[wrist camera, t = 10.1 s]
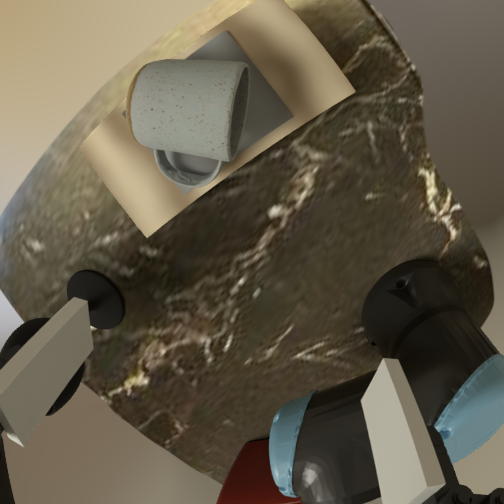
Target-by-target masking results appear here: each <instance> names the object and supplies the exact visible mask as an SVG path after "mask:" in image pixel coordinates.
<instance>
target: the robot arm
mask: <svg viewBox="0 0 504 504" xmlns="http://www.w3.org/2000/svg"><path fill="white" fill-rule="evenodd" d="M362 324H363V328H364V331H365V334H366V336H367V339H368V341H369V342H370V344H371V345H372V347H373V348H374V349H375V350H376V351H377V352H379V353H380V354H381V355H382V356H383V357H384V358H383V360H382V362H381V364H380V366H379V368H378V369H376V370H374V371H372V372H369V373H367V374H364V375H362V376H359V377H357V378H354V379H351V380H349V381H346V382H343V383H341V384H338V385H335V386H332V387H329V388H327V389H324V390H321V391H316V390H315V391H312V392H311V393H310V394H309V395H306V396H303V397H301V398H298V399H295V400H292V401H290V402H287V403H286V404H284V405H283V406H282V407H281V408H280V409H279V410H278V412H277V413H276V415H275V417H274V419H273V423H272V427H271V431H270V439H269V457H270V465H271V471H272V475H273V478H274V481H275V483H276V485H277V486H279V491H280V492H281V493H282V494H283V495H285V496H290V497H299V496H300V498H301V502H302V504H504V488H497V489H495V490H494V491H492V492H491V493H490V494H489V495H481V494H473V492H472V491H471V489H469V488H468V487H467V486H464V485H460V484H459V482H458V480H457V477H456V474H455V471H454V468H453V465H452V463H454V462H457V461H459V460H461V459H462V458H464V457H466V456H468V455H469V454H471V453H472V452H474V451H475V450H476V449H478V448H479V447H480V446H482V445H483V444H484V443H485V442H486V441H487V440H489V439H490V438H491V436H493V435H494V434H495V433H496V431H497V430H498V429H499V428H500V427H501V426H502V424H503V423H504V356H503V355H502V354H500V353H499V351H498V350H497V349H496V347H495V346H494V345H493V344H492V342H491V341H490V340H489V338H488V337H487V336H486V335H485V334H484V332H483V331H482V330H481V328H480V327H479V326H478V325H477V324H476V322H475V321H474V320H473V319H472V318H471V317H470V315H469V314H468V313H467V312H466V310H465V307H464V304H463V301H462V298H461V294H460V290H459V287H458V284H457V282H456V281H455V279H454V278H453V276H452V275H451V274H450V273H449V272H448V271H447V270H446V269H445V268H444V267H442V266H441V265H440V264H438V263H436V262H433V261H428V260H415V261H410V262H407V263H404V264H401V265H399V266H397V267H395V268H393V269H392V270H390V271H389V272H388V273H386V274H385V275H384V276H383V277H382V278H381V279H380V280H379V281H378V282H377V283H376V284H375V285H374V287H373V288H372V289H371V291H370V292H369V294H368V296H367V298H366V300H365V303H364V306H363V311H362ZM93 349H94V348H93V342H92V335H91V327H90V319H89V310H88V301H86V300H82V299H79V298H76V297H73V298H72V299H71V300H70V301H69V302H68V303H67V304H66V305H65V306H64V307H63V308H62V309H61V310H59V311H58V312H57V313H56V314H55V315H54V316H53V317H52V318H51V319H50V320H49V321H48V322H47V323H46V324H45V325H44V326H43V327H42V328H41V329H40V330H39V331H38V332H37V333H36V334H35V335H34V336H33V337H32V338H31V339H30V340H29V341H28V342H27V343H26V344H25V345H24V346H23V347H22V346H20V345H16V346H14V347H12V348H10V349H8V350H7V351H6V352H5V353H4V354H3V355H2V356H1V357H0V504H15V501H14V498H13V493H12V489H11V484H10V479H9V474H8V469H7V464H6V458H5V451H4V444H3V439H2V436H1V433H2V432H3V430H5V432H6V433H7V435H8V437H9V438H10V439H12V440H13V441H15V442H16V443H18V444H20V445H21V446H23V447H25V445H26V443H27V442H28V440H29V439H30V437H31V436H32V434H33V433H34V431H35V430H36V428H37V427H38V425H39V424H40V422H41V421H42V419H43V418H44V416H45V415H46V414H47V412H48V411H49V409H50V408H51V406H52V405H53V403H54V402H55V401H56V399H57V398H58V396H59V395H60V393H61V392H62V391H63V389H64V388H65V386H66V385H67V384H68V382H69V381H70V380H71V378H72V377H73V375H74V374H75V373H76V371H77V370H78V369H79V367H80V366H81V365H82V363H83V362H84V361H85V359H86V358H87V357H88V355H89V354H90V353H91V351H92V350H93Z"/></svg>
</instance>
